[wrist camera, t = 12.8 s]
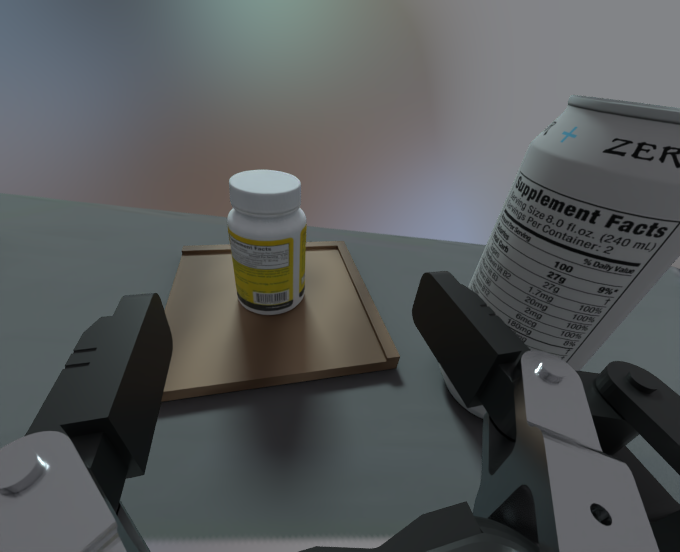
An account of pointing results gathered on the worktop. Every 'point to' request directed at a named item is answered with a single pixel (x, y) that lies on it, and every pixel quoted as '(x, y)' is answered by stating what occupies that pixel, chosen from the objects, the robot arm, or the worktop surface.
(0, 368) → the worktop surface
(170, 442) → the worktop surface
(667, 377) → the worktop surface
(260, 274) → the supplement bottle
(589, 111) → the energy drink can
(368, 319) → the walnut board
